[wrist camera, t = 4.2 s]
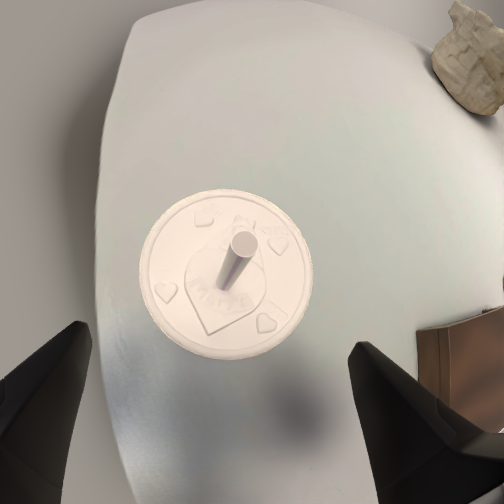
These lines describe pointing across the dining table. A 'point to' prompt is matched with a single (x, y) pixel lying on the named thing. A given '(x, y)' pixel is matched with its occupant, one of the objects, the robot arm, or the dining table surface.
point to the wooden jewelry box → (467, 367)
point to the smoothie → (226, 274)
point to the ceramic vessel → (472, 60)
